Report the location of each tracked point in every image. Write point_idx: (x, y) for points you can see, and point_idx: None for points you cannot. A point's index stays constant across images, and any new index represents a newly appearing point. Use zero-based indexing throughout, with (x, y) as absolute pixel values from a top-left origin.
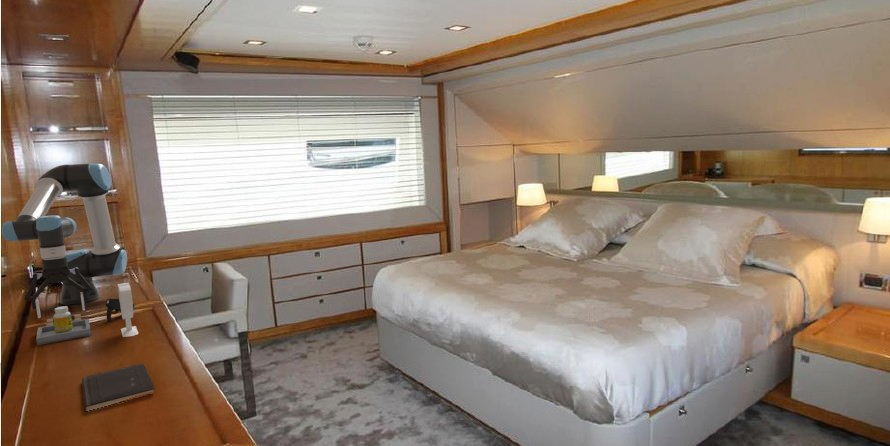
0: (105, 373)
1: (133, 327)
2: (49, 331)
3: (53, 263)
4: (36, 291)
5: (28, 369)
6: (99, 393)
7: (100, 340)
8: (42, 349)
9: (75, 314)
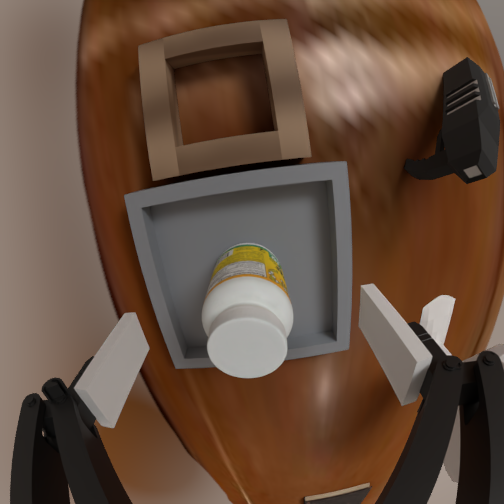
0: (329, 499)
1: (446, 323)
2: (177, 212)
3: None
4: (61, 447)
5: (222, 464)
6: None
7: (356, 390)
8: (210, 392)
9: (264, 23)
